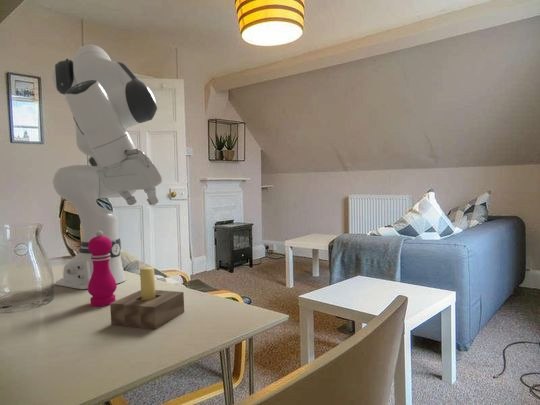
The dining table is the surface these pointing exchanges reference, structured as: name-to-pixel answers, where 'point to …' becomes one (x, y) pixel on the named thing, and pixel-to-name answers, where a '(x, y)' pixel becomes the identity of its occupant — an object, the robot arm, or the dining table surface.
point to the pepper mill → (101, 272)
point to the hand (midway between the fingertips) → (143, 203)
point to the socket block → (147, 309)
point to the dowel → (147, 283)
